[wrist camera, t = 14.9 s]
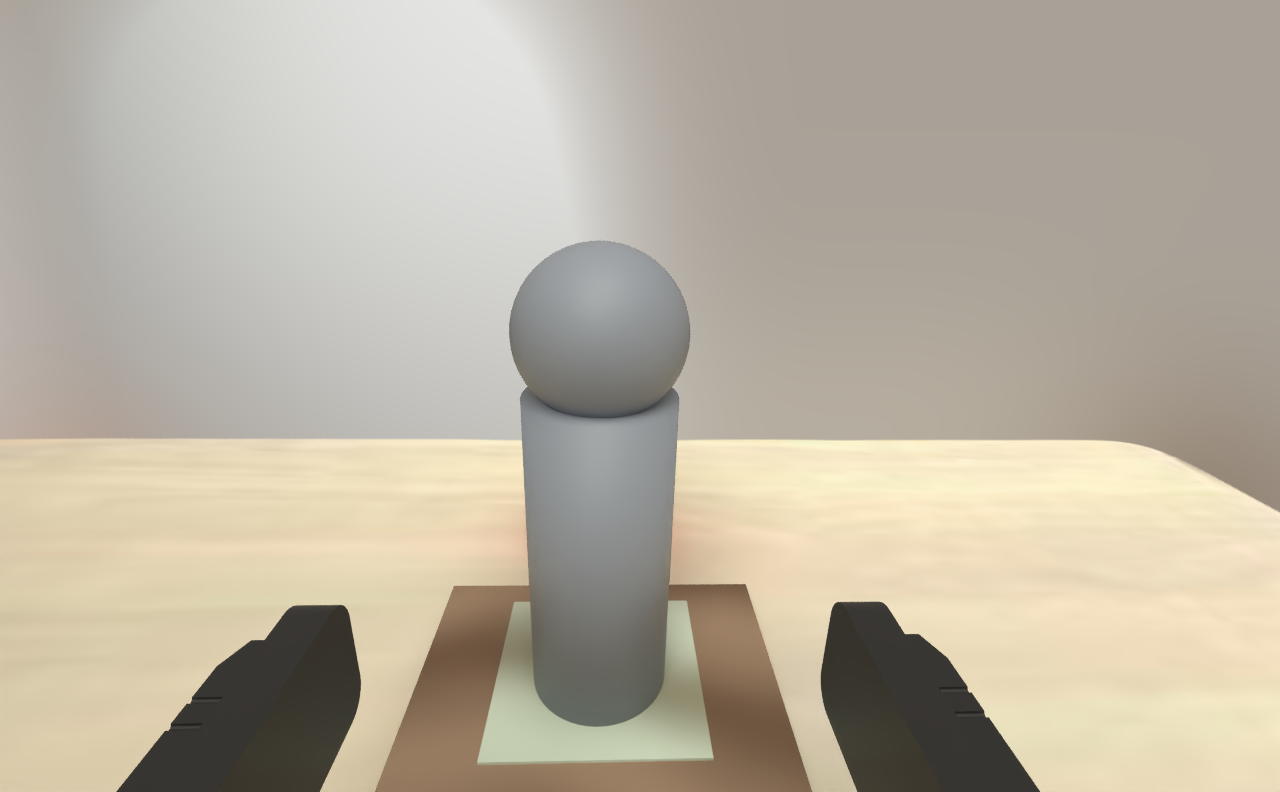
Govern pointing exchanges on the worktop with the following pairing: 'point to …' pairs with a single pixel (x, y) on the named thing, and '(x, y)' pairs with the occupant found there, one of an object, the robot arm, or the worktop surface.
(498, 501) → the worktop surface
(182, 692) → the worktop surface
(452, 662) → the game track
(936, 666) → the robot arm
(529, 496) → the pawn
